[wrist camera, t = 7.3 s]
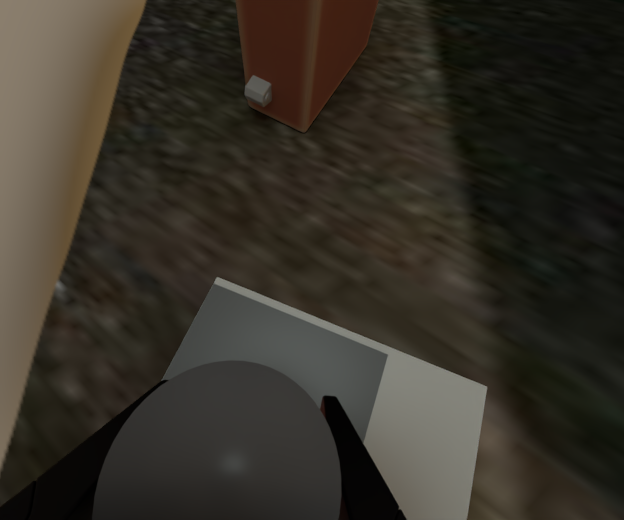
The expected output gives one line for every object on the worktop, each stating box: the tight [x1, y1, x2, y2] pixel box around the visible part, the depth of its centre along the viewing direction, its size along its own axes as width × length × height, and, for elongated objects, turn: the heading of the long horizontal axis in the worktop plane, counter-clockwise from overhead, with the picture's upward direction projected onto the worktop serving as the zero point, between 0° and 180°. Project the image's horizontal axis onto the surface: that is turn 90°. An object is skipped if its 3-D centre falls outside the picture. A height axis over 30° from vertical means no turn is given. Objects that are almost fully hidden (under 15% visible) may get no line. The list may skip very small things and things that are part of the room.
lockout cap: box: [92, 360, 341, 520], centre depth 10 cm, size 4×4×10 cm
